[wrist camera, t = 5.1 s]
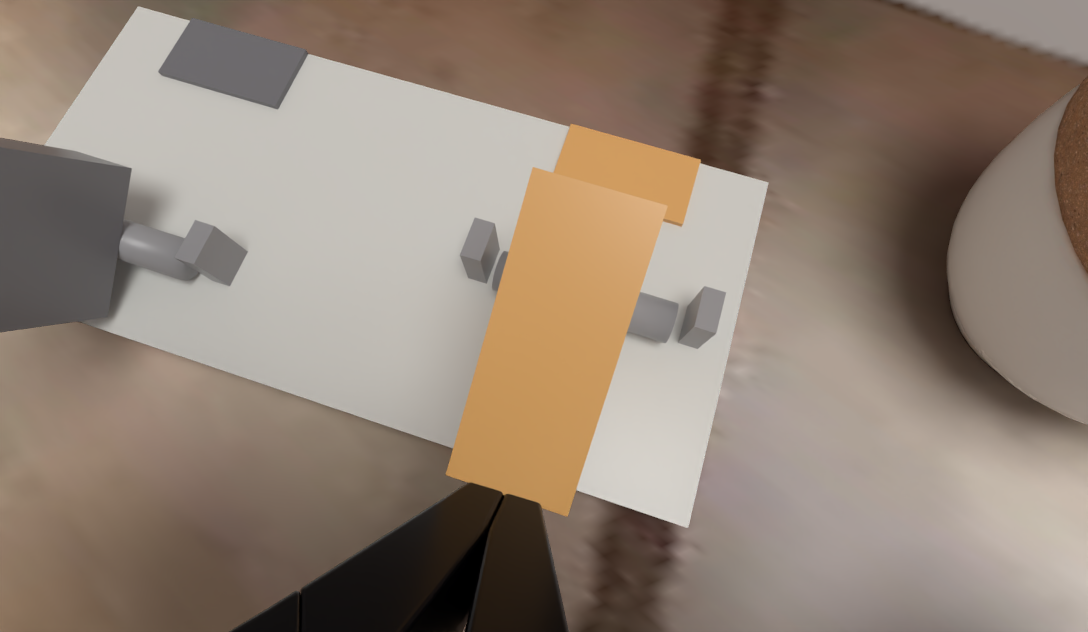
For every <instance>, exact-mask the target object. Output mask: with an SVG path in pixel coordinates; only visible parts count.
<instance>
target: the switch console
mask: <svg viewBox="0 0 1088 632" xmlns="http://www.w3.org/2000/svg"><path fill="white" fill-rule="evenodd" d="M44 146H50V147H56V148H62V149H67V150H73V151H77V152H81V153H84V154H87V155H90V156H93V157H97V158H100V159H103V160H106V161H110V162H113V163H116V164H119V165H123V166H126V167H129V168H132V171H131V177H130V183H129V189H128V195H127V202H126V208H125V214H124V219H126V220H129V221H132V222H135V223H138V224H142V225H145V226H148V227H151V228H154V229H157V230H160V231H164V232H167V233H170V234H173V235H176V236H179V237H182V238H185V239H184V241H183V243H182V245H181V246H180V248H179V250H178V252H177V254H176V255H175V257H174V258H175V259H177V260H179V261H180V262H182V263H184V264H185V265H187V266H189V267H190V268H192V269H194V270H195V271H197V272H198V274H197V275H196V276H194V277H193V278H191V279H189V280H179V279H176V278H173V277H170V276H167V275H164V274H161V273H158V272H155V271H152V270H149V269H146V268H142V267H139V266H136V265H133V264H130V263H127V262H124V261H121V260H118V259H117V263H116V269H115V275H114V281H113V288H112V294H111V300H110V306H109V312H108V317H105V318H98V319H91V320H84V321H78V322H81V323H84V324H87V325H90V326H93V327H96V328H99V329H102V330H105V331H108V332H111V333H113V334H116V335H119V336H122V337H125V338H128V339H131V340H134V341H137V342H140V343H143V344H146V345H149V346H152V347H155V348H158V349H161V350H164V351H167V352H170V353H173V354H175V355H178V356H181V357H184V358H187V359H190V360H193V361H196V362H199V363H202V364H205V365H208V366H211V367H214V368H217V369H220V370H223V371H226V372H229V373H232V374H235V375H237V376H240V377H243V378H246V379H249V380H252V381H255V382H258V383H261V384H264V385H267V386H270V387H273V388H276V389H279V390H282V391H285V392H288V393H291V394H294V395H297V396H299V397H302V398H305V399H308V400H311V401H314V402H317V403H320V404H323V405H326V406H329V407H332V408H335V409H338V410H341V411H344V412H347V413H350V414H353V415H356V416H358V417H361V418H364V419H367V420H370V421H373V422H376V423H379V424H382V425H385V426H388V427H391V428H394V429H397V430H400V431H403V432H406V433H409V434H412V435H415V436H418V437H420V438H423V439H426V440H429V441H432V442H435V443H438V444H441V445H444V446H447V447H450V448H453V447H454V443H455V440H456V436H457V433H458V429H459V426H460V422H461V419H462V415H463V412H464V408H465V405H466V401H467V398H468V394H469V390H470V387H471V383H472V380H473V376H474V373H475V369H476V366H477V362H478V359H479V355H480V352H481V348H482V344H483V341H484V337H485V334H486V330H487V327H488V323H489V320H490V316H491V313H492V309H493V306H494V302H495V299H496V295H497V291H495V290H493V289H492V282H493V276H494V272H495V269H496V266H497V263H498V260H499V258H500V256H501V254H502V253H503V251H508V252H509V249H510V245H511V242H512V238H513V235H514V231H515V228H516V224H517V221H518V217H519V214H520V210H521V207H522V203H523V200H524V196H525V192H526V189H527V185H528V182H529V178H530V175H531V171H532V168H533V167H535V168H538V169H542V170H545V171H549V172H552V173H556V174H559V175H563V176H566V177H570V178H573V179H577V180H580V181H584V182H587V183H591V184H594V185H598V186H601V187H604V188H608V189H611V190H615V191H618V192H622V193H625V194H629V195H632V196H636V197H639V198H643V199H646V200H650V201H653V202H657V203H660V204H664V205H667V206H668V207H667V210H666V213H665V216H664V219H663V222H662V225H661V229H660V232H659V235H658V238H657V241H656V244H655V247H654V250H653V253H652V256H651V259H650V263H649V266H648V269H647V272H646V275H645V278H644V281H643V284H642V287H641V290H640V292H643V293H646V294H650V295H653V296H656V297H659V298H663V299H666V300H669V301H673V302H676V303H678V304H679V307H678V313H677V317H676V320H675V324H674V327H673V329H672V332H671V335H670V337H669V339H668V341H667V342H666V343H663V342H659V341H656V340H653V339H650V338H646V337H643V336H640V335H637V334H634V333H630V332H627V334H626V337H625V340H624V343H623V346H622V349H621V352H620V355H619V359H618V362H617V365H616V368H615V371H614V374H613V377H612V380H611V383H610V386H609V390H608V393H607V396H606V399H605V402H604V405H603V408H602V411H601V414H600V417H599V421H598V424H597V427H596V430H595V433H594V436H593V439H592V442H591V445H590V448H589V451H588V455H587V458H586V461H585V464H584V467H583V470H582V473H581V476H580V479H579V482H578V486H577V489H576V490H577V491H580V492H583V493H586V494H589V495H592V496H595V497H598V498H601V499H604V500H606V501H609V502H612V503H615V504H618V505H621V506H624V507H627V508H630V509H633V510H636V511H639V512H642V513H645V514H648V515H651V516H654V517H657V518H660V519H663V520H666V521H668V522H671V523H674V524H677V525H680V526H683V527H686V528H688V526H689V522H690V517H691V513H692V509H693V504H694V500H695V496H696V492H697V487H698V483H699V479H700V474H701V470H702V466H703V462H704V457H705V453H706V449H707V444H708V440H709V436H710V431H711V427H712V423H713V419H714V414H715V410H716V406H717V401H718V397H719V393H720V389H721V384H722V380H723V376H724V371H725V367H726V363H727V358H728V354H729V350H730V346H731V341H732V337H733V333H734V328H735V324H736V320H737V316H738V311H739V307H740V303H741V298H742V294H743V290H744V285H745V281H746V277H747V273H748V268H749V264H750V260H751V255H752V251H753V247H754V243H755V238H756V234H757V230H758V225H759V221H760V217H761V212H762V208H763V204H764V200H765V195H766V191H767V187H768V182H764V181H761V180H757V179H754V178H750V177H746V176H743V175H739V174H736V173H732V172H729V171H725V170H721V169H718V168H714V167H711V166H707V165H704V164H700V161H701V160H700V159H696V158H692V157H689V156H685V155H682V154H678V153H674V152H671V151H667V150H664V149H660V148H657V147H653V146H649V145H646V144H642V143H639V142H635V141H631V140H628V139H624V138H621V137H617V136H614V135H610V134H606V133H603V132H599V131H596V130H592V129H588V128H585V127H581V126H578V125H574V124H571V125H570V127H568V126H564V125H560V124H557V123H553V122H550V121H546V120H543V119H539V118H535V117H532V116H528V115H525V114H521V113H518V112H514V111H510V110H507V109H503V108H500V107H496V106H492V105H489V104H485V103H482V102H478V101H475V100H471V99H467V98H464V97H460V96H457V95H453V94H450V93H446V92H442V91H439V90H435V89H432V88H428V87H424V86H421V85H417V84H414V83H410V82H407V81H403V80H399V79H396V78H392V77H389V76H385V75H382V74H378V73H374V72H371V71H367V70H364V69H360V68H357V67H353V66H349V65H346V64H342V63H339V62H335V61H331V60H328V59H324V58H321V57H317V56H314V55H310V54H308V53H307V51H306V50H305V49H302V48H298V47H294V46H291V45H287V44H284V43H280V42H276V41H273V40H269V39H266V38H262V37H259V36H255V35H251V34H248V33H244V32H241V31H237V30H233V29H230V28H226V27H223V26H219V25H216V24H212V23H208V22H205V21H201V20H198V19H194V18H192V19H191V20H190V21H188V20H185V19H181V18H178V17H174V16H171V15H167V14H163V13H160V12H156V11H153V10H149V9H145V8H142V7H137V9H136V10H135V12H134V13H133V15H132V16H131V18H130V19H129V21H128V22H127V24H126V25H125V27H124V28H123V30H122V31H121V33H120V34H119V36H118V37H117V39H116V40H115V41H114V43H113V44H112V46H111V47H110V49H109V50H108V52H107V53H106V55H105V56H104V58H103V59H102V61H101V62H100V64H99V65H98V67H97V68H96V70H95V71H94V73H93V74H92V76H91V77H90V79H89V80H88V81H87V83H86V84H85V86H84V87H83V89H82V90H81V92H80V93H79V95H78V96H77V98H76V99H75V101H74V102H73V104H72V105H71V107H70V108H69V110H68V111H67V113H66V114H65V116H64V117H63V119H62V120H61V121H60V123H59V124H58V126H57V127H56V129H55V130H54V132H53V133H52V135H51V136H50V138H49V139H48V141H47V142H46V144H45V145H44Z"/></svg>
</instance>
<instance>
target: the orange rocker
mask: <svg viewBox="0 0 1088 632" xmlns="http://www.w3.org/2000/svg"><path fill="white" fill-rule="evenodd" d="M667 207H668V206H667V205H664V204H660V203H657V202H653V201H650V200H646V199H643V198H639V197H636V196H632V195H629V194H625V193H622V192H618V191H615V190H611V189H608V188H604V187H601V186H598V185H594V184H591V183H587V182H584V181H580V180H577V179H573V178H570V177H566V176H563V175H559V174H556V173H552V172H549V171H545V170H542V169H538V168H535V167H533V168H532V171H531V175H530V178H529V182H528V185H527V189H526V192H525V196H524V200H523V203H522V207H521V210H520V214H519V217H518V221H517V224H516V228H515V231H514V235H513V238H512V242H511V245H510V249H509V252H508V251H503V253H502V254H501V256H500V258H499V260H498V263H497V266H496V269H495V272H494V276H493V282H492V289H493V290H495V291H497V295H496V299H495V302H494V306H493V309H492V313H491V316H490V320H489V323H488V327H487V330H486V334H485V337H484V341H483V344H482V348H481V352H480V355H479V359H478V362H477V366H476V369H475V373H474V376H473V380H472V383H471V387H470V390H469V394H468V398H467V401H466V405H465V408H464V412H463V415H462V419H461V422H460V426H459V429H458V433H457V436H456V440H455V443H454V447H453V451H452V454H451V458H450V461H449V465H448V468H447V472H446V475H447V476H450V477H453V478H456V479H459V480H462V481H465V482H468V483H469V482H472V483H475V484H478V485H482V486H485V487H488V488H492V489H495V490H498V491H501V492H502V493H503V495H506V494H511V495H515V496H518V497H521V498H525V499H528V500H531V501H534V502H538V503H539V504H540V505H541V507H542V508H543V509H546V510H549V511H552V512H555V513H558V514H561V515H564V516H566V517H567V516H568V513H569V510H570V507H571V504H572V501H573V498H574V495H575V492H576V489H577V486H578V482H579V479H580V476H581V473H582V470H583V467H584V464H585V461H586V458H587V455H588V451H589V448H590V445H591V442H592V439H593V436H594V433H595V430H596V427H597V424H598V421H599V417H600V414H601V411H602V408H603V405H604V402H605V399H606V396H607V393H608V390H609V386H610V383H611V380H612V377H613V374H614V371H615V368H616V365H617V362H618V359H619V355H620V352H621V349H622V346H623V343H624V340H625V337H626V334H627V332H630V333H634V334H637V335H640V336H643V337H646V338H650V339H653V340H656V341H659V342H663V343H666V342H667V341H668V339H669V337H670V335H671V332H672V329H673V327H674V324H675V320H676V317H677V313H678V307H679V304H678V303H676V302H673V301H669V300H666V299H663V298H659V297H656V296H653V295H650V294H646V293H643V292H640V290H641V287H642V284H643V281H644V278H645V275H646V272H647V269H648V266H649V263H650V259H651V256H652V253H653V250H654V247H655V244H656V241H657V238H658V235H659V232H660V229H661V225H662V222H663V219H664V216H665V213H666V210H667Z"/></svg>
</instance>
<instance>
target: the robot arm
mask: <svg viewBox="0 0 1088 632" xmlns="http://www.w3.org/2000/svg"><path fill="white" fill-rule="evenodd" d="M466 622H467V624H466ZM465 624H466V629H465V632H569V630H568V626H567V621H566V617H565V612H564V608H563V603H562V598H561V594H560V589H559V585H558V580H557V576H556V571H555V567H554V562H553V557H552V553H551V548H550V544H549V539H548V535H547V530H546V526H545V521H544V516H543V512H542V507H541V505H540V504H539V503H538V502H534V501H531V500H528V499H525V498H521V497H518V496H515V495H511V494H506V495H503V493H502V492H501V491H498V490H495V489H492V488H488V487H485V486H482V485H478V484H475V483H472V482H469V483H467V484H465V485H464V486H462V487H461V488H459V489H458V490H456V491H454V492H453V493H451V494H450V495H448V496H446V497H445V498H443V499H442V500H440V501H439V502H437V503H435V504H434V505H432V506H431V507H429V508H428V509H426V510H424V511H423V512H421V513H420V514H418V515H416V516H415V517H413V518H412V519H410V520H409V521H407V522H405V523H404V524H402V525H401V526H399V527H397V528H396V529H394V530H393V531H391V532H390V533H388V534H386V535H385V536H383V537H382V538H380V539H379V540H377V541H375V542H374V543H372V544H371V545H369V546H367V547H366V548H364V549H363V550H361V551H360V552H358V553H356V554H355V555H353V556H352V557H350V558H348V559H347V560H345V561H344V562H342V563H341V564H339V565H337V566H336V567H334V568H333V569H331V570H330V571H328V572H326V573H325V574H323V575H322V576H320V577H318V578H317V579H315V580H314V581H312V582H311V583H309V584H307V585H306V586H304V587H303V588H302V589H301V593H300V592H298V591H295V592H293V593H292V594H290V595H288V596H287V597H285V598H284V599H282V600H280V601H279V602H277V603H276V604H274V605H273V606H271V607H269V608H268V609H266V610H264V611H263V612H261V613H259V614H258V615H256V616H254V617H253V618H251V619H249V620H248V621H246V622H244V623H243V624H241V625H239V626H238V627H236V628H234V629H233V630H231V631H229V632H462V631H463V629H464V627H465Z"/></svg>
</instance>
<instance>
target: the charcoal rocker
mask: <svg viewBox="0 0 1088 632" xmlns="http://www.w3.org/2000/svg"><path fill="white" fill-rule="evenodd" d="M131 171H132V168H129V167H126V166H123V165H119V164H116V163H113V162H110V161H106V160H103V159H100V158H97V157H93V156H90V155H87V154H84V153H81V152H77V151H73V150H67V149H62V148H56V147H50V146H44V145H39V144H33V143H27V142H22V141H16V140H10V139H5V138H0V332H6V331H13V330H20V329H27V328H34V327H41V326H48V325H55V324H63V323H70V322H77V321H84V320H91V319H98V318H105V317H108V312H109V306H110V300H111V294H112V288H113V281H114V275H115V269H116V263H117V259H118V260H121V261H124V262H127V263H130V264H133V265H136V266H139V267H142V268H146V269H149V270H152V271H155V272H158V273H161V274H164V275H167V276H170V277H173V278H176V279H179V280H189V279H191V278H193V277H194V276H196V275H197V274H198V272H197V271H195V270H194V269H192V268H190V267H189V266H187V265H185V264H184V263H182V262H180V261H179V260H177V259H175V258H174V257H175V255H176V254H177V252H178V250H179V248H180V246H181V245H182V243H183V241H184V239H185V238H182V237H179V236H176V235H173V234H170V233H167V232H164V231H160V230H157V229H154V228H151V227H148V226H145V225H142V224H138V223H135V222H132V221H129V220H126V219H124V214H125V208H126V202H127V195H128V189H129V183H130V177H131Z"/></svg>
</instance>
